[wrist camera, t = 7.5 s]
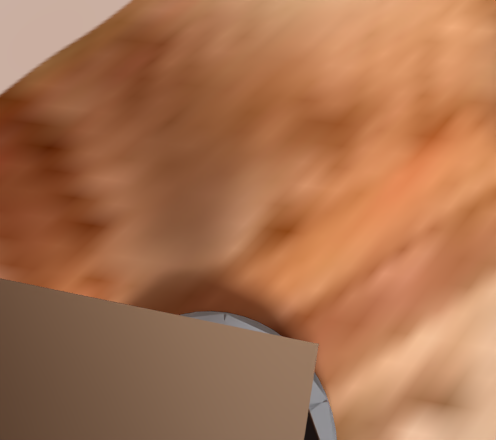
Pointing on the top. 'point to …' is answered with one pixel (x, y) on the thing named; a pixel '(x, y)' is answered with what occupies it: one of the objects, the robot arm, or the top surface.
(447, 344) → the top surface
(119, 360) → the walnut block
